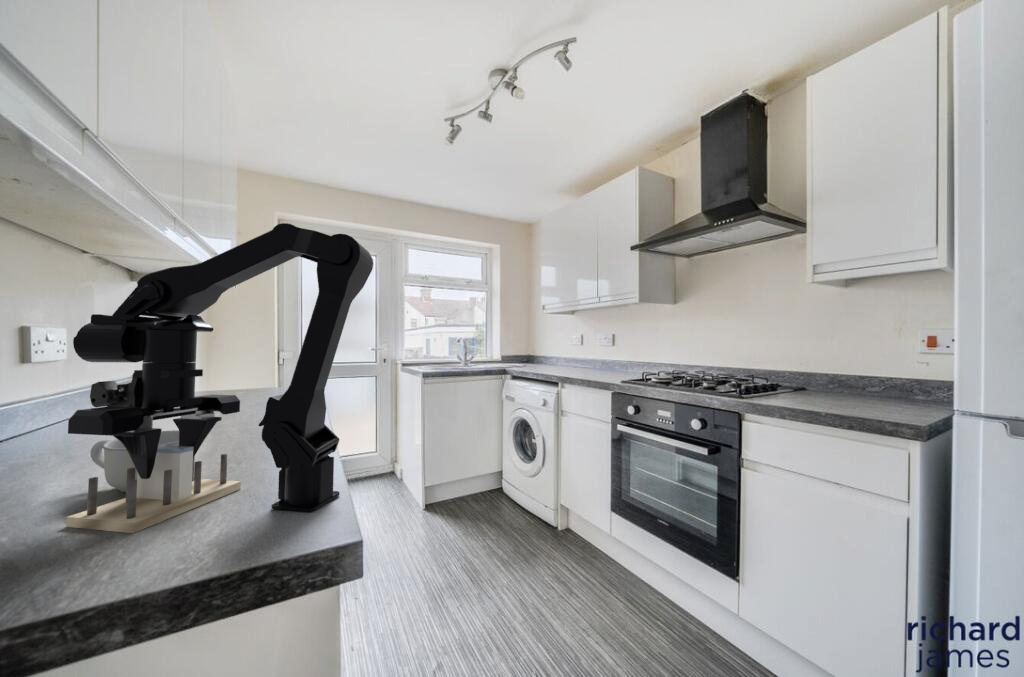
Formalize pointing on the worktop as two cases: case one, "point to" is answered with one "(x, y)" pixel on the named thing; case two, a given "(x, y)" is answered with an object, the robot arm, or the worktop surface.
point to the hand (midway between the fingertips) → (165, 472)
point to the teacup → (122, 458)
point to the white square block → (181, 467)
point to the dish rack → (149, 502)
